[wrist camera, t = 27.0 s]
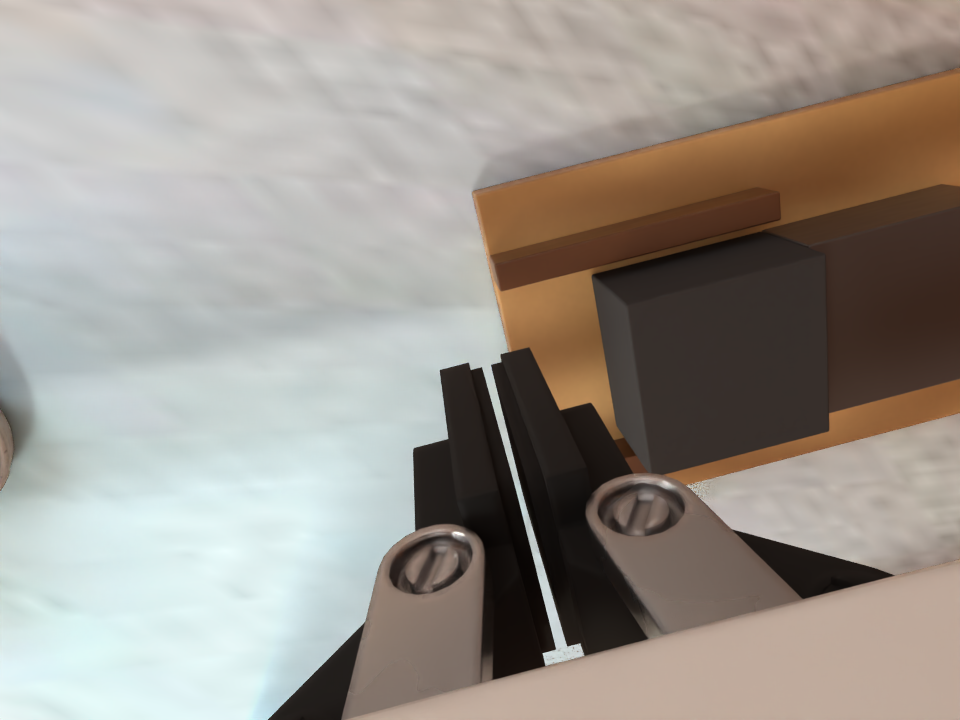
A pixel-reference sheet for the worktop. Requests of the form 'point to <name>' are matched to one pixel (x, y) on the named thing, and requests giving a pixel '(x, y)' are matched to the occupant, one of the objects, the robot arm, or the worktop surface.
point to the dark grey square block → (716, 350)
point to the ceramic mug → (5, 449)
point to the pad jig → (772, 210)
